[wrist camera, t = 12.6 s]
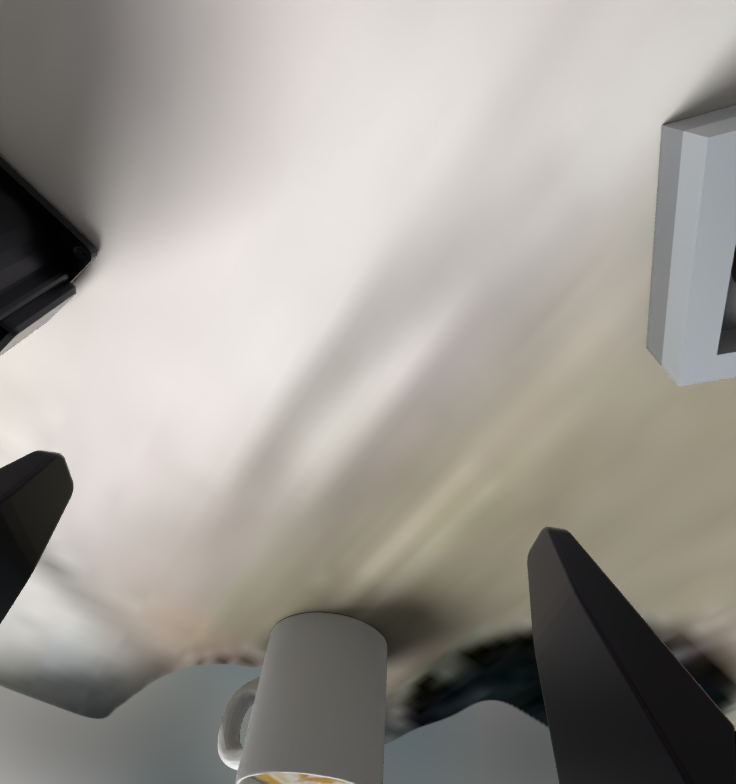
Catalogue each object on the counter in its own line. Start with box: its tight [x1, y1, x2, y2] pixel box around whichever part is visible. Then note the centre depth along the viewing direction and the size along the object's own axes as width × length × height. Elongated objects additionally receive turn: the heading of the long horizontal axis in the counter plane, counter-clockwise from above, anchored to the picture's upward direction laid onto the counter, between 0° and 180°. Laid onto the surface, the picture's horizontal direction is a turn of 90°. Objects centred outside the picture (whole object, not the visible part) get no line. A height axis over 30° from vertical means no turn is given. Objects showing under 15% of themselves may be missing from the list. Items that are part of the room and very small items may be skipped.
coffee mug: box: [218, 612, 388, 784], centre depth 35 cm, size 13×10×10 cm
